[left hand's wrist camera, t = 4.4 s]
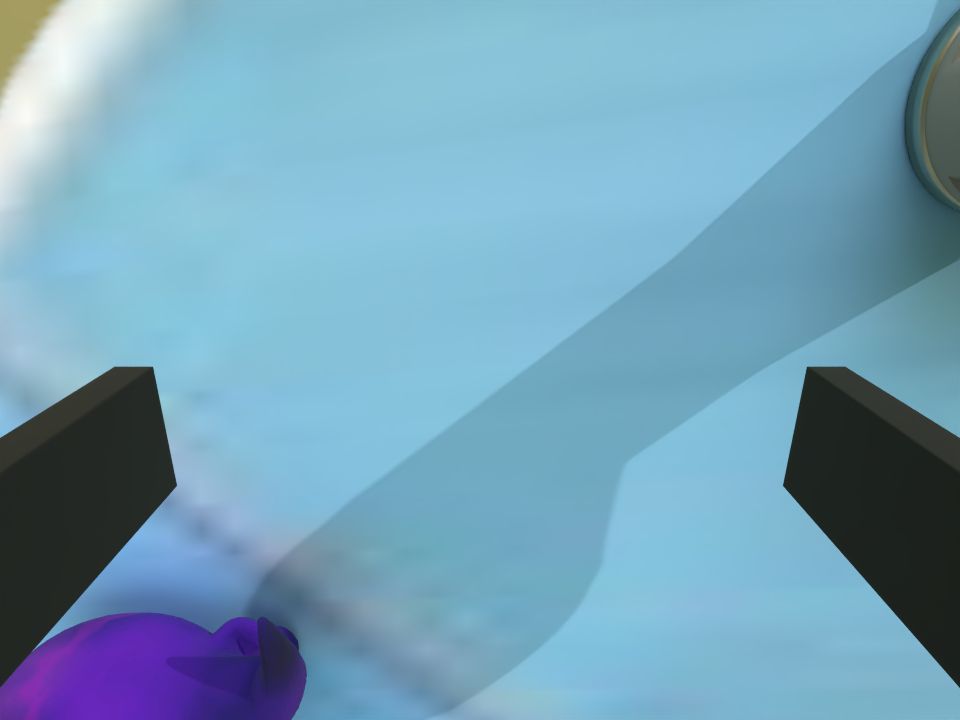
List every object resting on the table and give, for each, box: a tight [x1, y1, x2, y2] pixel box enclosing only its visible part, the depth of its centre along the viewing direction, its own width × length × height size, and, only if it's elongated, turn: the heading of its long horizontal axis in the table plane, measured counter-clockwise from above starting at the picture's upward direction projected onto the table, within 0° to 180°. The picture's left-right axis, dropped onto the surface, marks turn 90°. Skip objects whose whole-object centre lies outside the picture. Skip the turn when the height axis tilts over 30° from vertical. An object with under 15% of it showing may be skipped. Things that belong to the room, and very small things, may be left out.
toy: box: [0, 613, 307, 720], centre depth 46 cm, size 16×18×27 cm
